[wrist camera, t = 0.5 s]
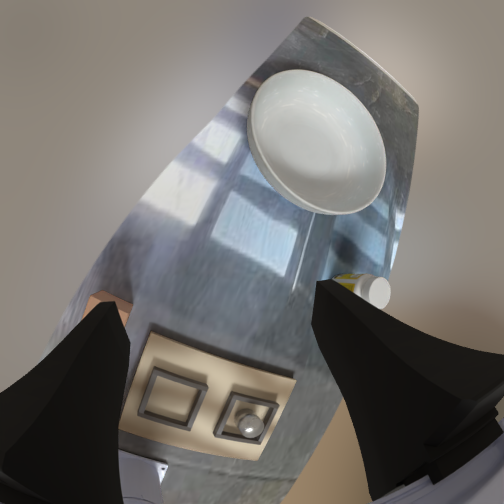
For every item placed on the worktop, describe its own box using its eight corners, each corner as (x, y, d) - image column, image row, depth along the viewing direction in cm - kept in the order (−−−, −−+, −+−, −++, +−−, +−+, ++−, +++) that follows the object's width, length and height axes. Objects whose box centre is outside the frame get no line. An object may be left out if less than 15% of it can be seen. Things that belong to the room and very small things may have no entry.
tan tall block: (121, 335, 29) (115, 352, 23) (91, 321, 28) (77, 334, 22) (133, 304, 30) (128, 313, 24) (102, 290, 29) (90, 295, 22)
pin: (250, 428, 33) (258, 439, 30) (230, 424, 32) (237, 435, 29) (259, 410, 33) (267, 420, 30) (238, 406, 32) (246, 416, 30)
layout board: (254, 457, 34) (260, 465, 32) (118, 424, 28) (117, 433, 26) (293, 378, 36) (300, 383, 34) (151, 330, 30) (151, 334, 28)
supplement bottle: (340, 313, 39) (380, 320, 32) (320, 293, 38) (360, 297, 31) (356, 287, 41) (397, 289, 33) (338, 266, 40) (379, 265, 32)
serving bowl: (376, 172, 44) (405, 161, 38) (302, 254, 38) (332, 250, 31) (299, 76, 40) (321, 53, 34) (201, 132, 34) (213, 105, 28)
